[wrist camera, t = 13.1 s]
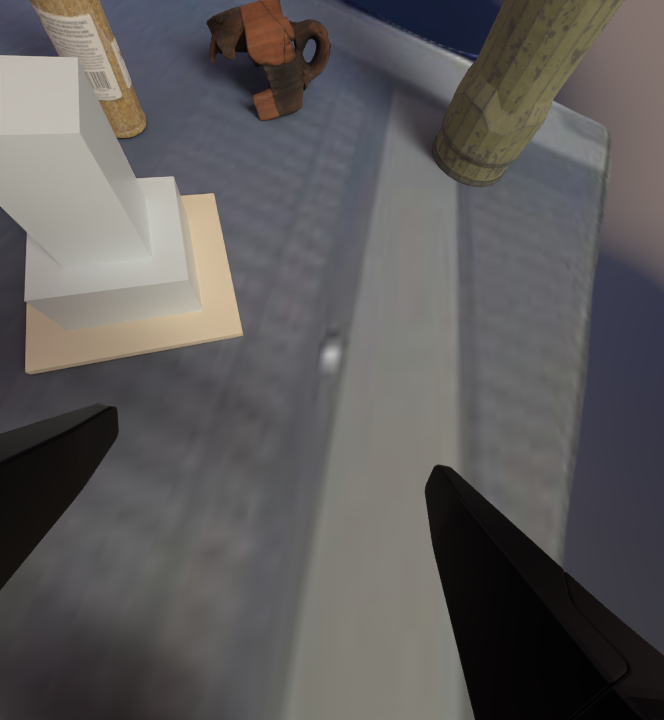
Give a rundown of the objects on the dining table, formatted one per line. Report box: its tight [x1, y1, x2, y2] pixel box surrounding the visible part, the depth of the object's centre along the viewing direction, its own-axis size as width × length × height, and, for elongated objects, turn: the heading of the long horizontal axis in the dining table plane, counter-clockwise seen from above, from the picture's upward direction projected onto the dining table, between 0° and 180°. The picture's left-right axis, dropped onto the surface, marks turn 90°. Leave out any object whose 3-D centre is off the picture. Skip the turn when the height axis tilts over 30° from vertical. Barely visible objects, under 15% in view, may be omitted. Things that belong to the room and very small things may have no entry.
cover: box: [0, 55, 203, 331], centre depth 19 cm, size 9×9×12 cm
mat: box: [25, 193, 243, 374], centre depth 24 cm, size 14×14×1 cm
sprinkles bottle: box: [30, 0, 146, 138], centre depth 24 cm, size 5×5×14 cm
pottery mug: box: [207, 0, 331, 121], centre depth 33 cm, size 12×10×8 cm
